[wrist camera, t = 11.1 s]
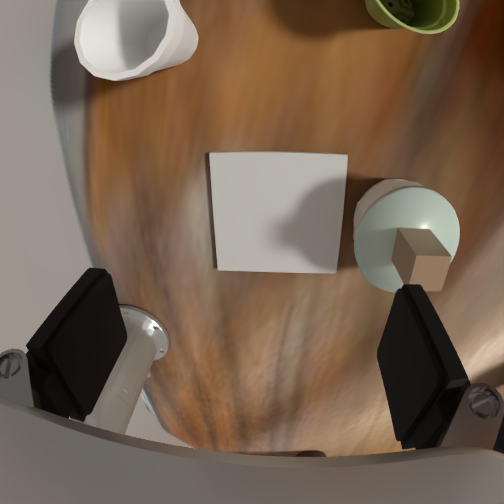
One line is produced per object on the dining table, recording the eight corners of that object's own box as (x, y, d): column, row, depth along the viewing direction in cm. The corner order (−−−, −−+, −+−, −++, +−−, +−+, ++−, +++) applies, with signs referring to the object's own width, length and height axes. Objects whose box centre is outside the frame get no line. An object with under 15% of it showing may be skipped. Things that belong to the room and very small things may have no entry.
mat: (335, 271, 43) (336, 273, 43) (218, 267, 45) (217, 270, 44) (346, 154, 36) (347, 155, 35) (210, 152, 37) (209, 153, 36)
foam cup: (158, 93, 34) (104, 102, 23) (122, 37, 30) (59, 28, 19) (226, 49, 31) (198, 32, 20) (187, -8, 27) (143, -43, 16)
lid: (440, 287, 36) (461, 322, 30) (346, 287, 37) (356, 326, 31) (466, 191, 30) (498, 216, 24) (360, 181, 31) (378, 206, 25)
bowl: (421, 257, 41) (437, 281, 36) (348, 255, 42) (356, 280, 37) (437, 182, 36) (458, 198, 30) (357, 174, 37) (369, 190, 31)
